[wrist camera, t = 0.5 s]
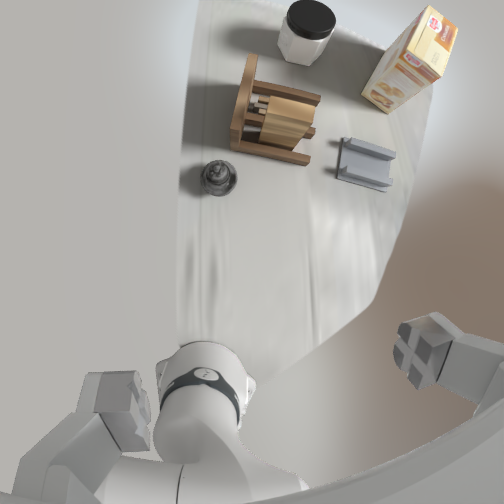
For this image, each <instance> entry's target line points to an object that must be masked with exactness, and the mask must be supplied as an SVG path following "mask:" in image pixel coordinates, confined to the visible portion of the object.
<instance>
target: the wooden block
mask: <svg viewBox="0 0 504 504" xmlns="http://www.w3.org/2000/svg"><path fill="white" fill-rule="evenodd" d="M314 112H315V106H312V105H308V104H304V103H300V102H296V101H292V100H288V99H284V98H279V97H275V96H270V99H269V102H268V106H267V110H266V113H265V117H264V120H263V124H262V127H261V131H260V135H259V140H258V144H261V145H266V146H270V147H275V148H279V149H283V150H288V151H292V150H293V149H294V147H295V146H296V145H297V143H298V142H299V141H300V139H301V138H302V137H303V135H304V134H305V133H306V131H307V130H308V129H309V127H310V126H311V125H312V123H313V118H314Z"/></svg>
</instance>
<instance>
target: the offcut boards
mask: <svg viewBox="0 0 504 504" xmlns="http://www.w3.org/2000/svg"><path fill="white" fill-rule="evenodd" d="M269 99H270V98H267V97H262V96H259V100H258V103H256V102H255V104H254V109H253V112H254V113H258V115H262V116H265V113H266V110H267V106H268V102H269Z"/></svg>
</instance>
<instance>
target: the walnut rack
mask: <svg viewBox="0 0 504 504" xmlns="http://www.w3.org/2000/svg"><path fill="white" fill-rule="evenodd" d="M257 59H258V55H257V54H252V53H249V54H248V58H247V62H246V66H245V69H244V73H243V77H242V81H241V85H240V89H239V93H238V97H237V101H236V105H235V109H234V113H233V117H232V121H231V125H230V150H234V151H239V152H244V153H249V154H254V155H259V156H263V157H268V158H272V159H277V160H281V161H286V162H290V163H294V164H299V165H303V166H306V165H308V164H309V163H310V158H311V156H308V155H304V154H300V153H296V152H292V151H288V150H283V149H279V148H275V147H270V146H266V145H261V144H256V143H251V142H246V141H241V137H242V133H243V128H244V124H246V125H251V126H256V127H262V124H263V120H264V117H265V116H262V115H257V114H253V113H247V111H248V107H249V102H250V98H251V94H252V92H253V93H258V94H263V95H267V96H275V97H279V98H284V99H288V100H292V101H296V102H300V103H304V104H308V105H312V106H315V107H316V106H317V105H318V103H319V102H320V98H321V96H320V95H317V94H313V93H309V92H306V91H302V90H298V89H294V88H289V87H285V86H281V85H276V84H272V83H267V82H262V81H257V80H254V78H255V72H256V65H257ZM315 129H316V128H313V127H309V129H308V130H307V131H306V133H305V134H304V135H303V137H304V138H308V139H311V138H312V137H313V136H314V134H315Z"/></svg>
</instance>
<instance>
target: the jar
mask: <svg viewBox="0 0 504 504" xmlns="http://www.w3.org/2000/svg"><path fill="white" fill-rule="evenodd" d="M335 24H336V18H335V15H334V13H333V12H332V11H331V9H330V8H328V7H327V6H326V5H324V4H323V3H320V2H318V1H315V0H299V1H297V2H294V3H293V4H292V5H291V6H290V8H289V10H288V12H287V16H286V17H284V19H283V23H282V27H281V31H280V35H279V39H278V43H277V45H278V47H279V49H280V51H281V52H282V54H283V56H284V58H285V60H286V61H287V62H292V63H297V64H301V65H306V66H310V65H311V64H312V63H313V62H314V61H315V60H316V59H317V58H318V57H319V56H320V55H321V54H322V53H323V51H324V49H325V47H326V45H327V43H328V41H329V39H330V37H331V35H332V34H333V32H334V26H335Z"/></svg>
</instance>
